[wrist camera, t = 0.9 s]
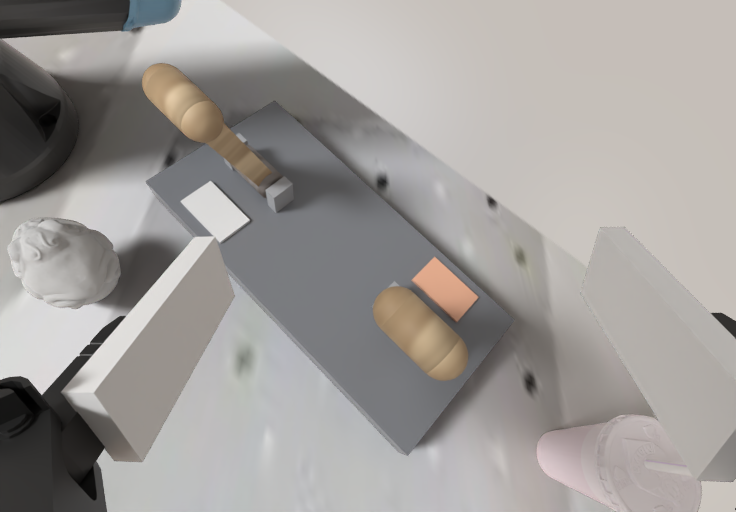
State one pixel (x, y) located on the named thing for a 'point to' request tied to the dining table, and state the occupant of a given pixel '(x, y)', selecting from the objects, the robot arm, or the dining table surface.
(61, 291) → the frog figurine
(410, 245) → the switch unit
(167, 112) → the lever
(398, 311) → the lever
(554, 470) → the smoothie
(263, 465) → the dining table surface
